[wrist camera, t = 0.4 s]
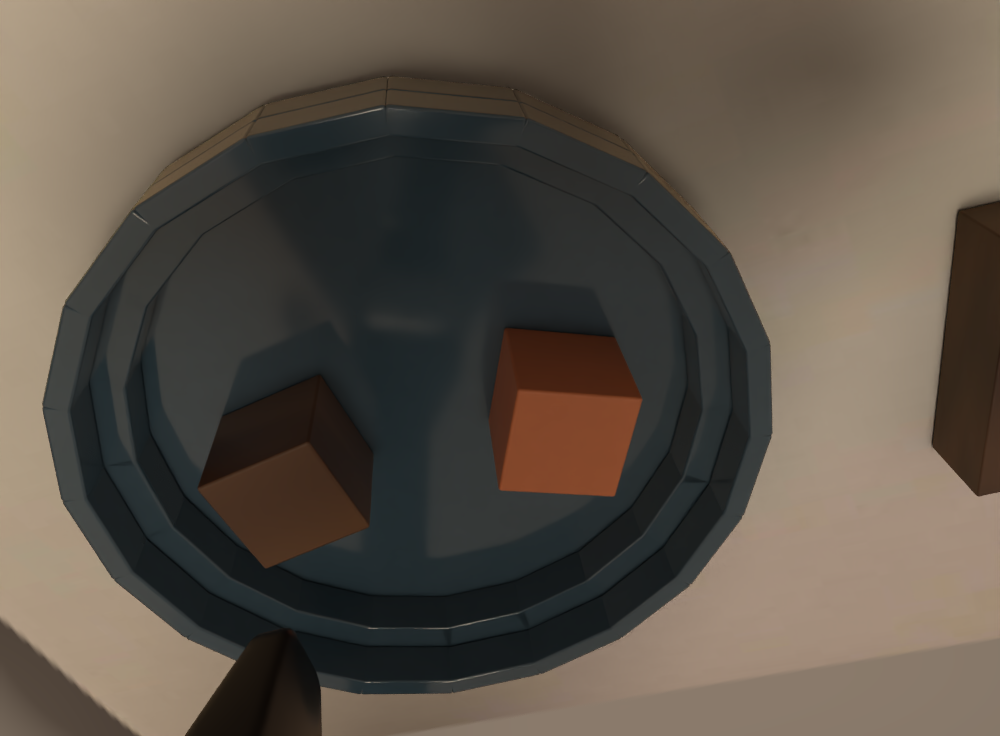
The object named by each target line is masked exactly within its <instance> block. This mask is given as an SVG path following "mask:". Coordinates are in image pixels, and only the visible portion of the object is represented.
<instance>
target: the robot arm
mask: <svg viewBox="0 0 1000 736" xmlns="http://www.w3.org/2000/svg"><path fill="white" fill-rule="evenodd" d="M185 736H322V722H321V690H320V683H319V678H318V675H317V672H316V670H315V668H314V666H313V664H312V662H311V660H310V658H309V657H308V655H307V653H306V651H305V649H304V647H303V645H302V643H301V641H300V639H299V637H298V635H297V634H296V633H295V631H294V630H292V629H291V628H282V629H277V630H273V631H269V632H264V633H260V634H258V635H256V636H255V637H254V638H253V639H251V641H250V642H249V643H248V645H247V646H246V648H245V649H244V651H243V652H242V653H241V655H240V656H239V658H238V659H237V661H236V662H235V664H234V665H233V666H232V668H231V669H230V671H229V672H228V674H227V675H226V677H225V678H224V680H223V681H222V682H221V684H220V685H219V687H218V688H217V690H216V691H215V693H214V694H213V695H212V697H211V698H210V700H209V701H208V703H207V704H206V706H205V707H204V708H203V710H202V711H201V713H200V714H199V716H198V717H197V719H196V720H195V721H194V723H193V724H192V726H191V727H190V729H189V730H188V732H187V733H186V735H185Z"/></svg>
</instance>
